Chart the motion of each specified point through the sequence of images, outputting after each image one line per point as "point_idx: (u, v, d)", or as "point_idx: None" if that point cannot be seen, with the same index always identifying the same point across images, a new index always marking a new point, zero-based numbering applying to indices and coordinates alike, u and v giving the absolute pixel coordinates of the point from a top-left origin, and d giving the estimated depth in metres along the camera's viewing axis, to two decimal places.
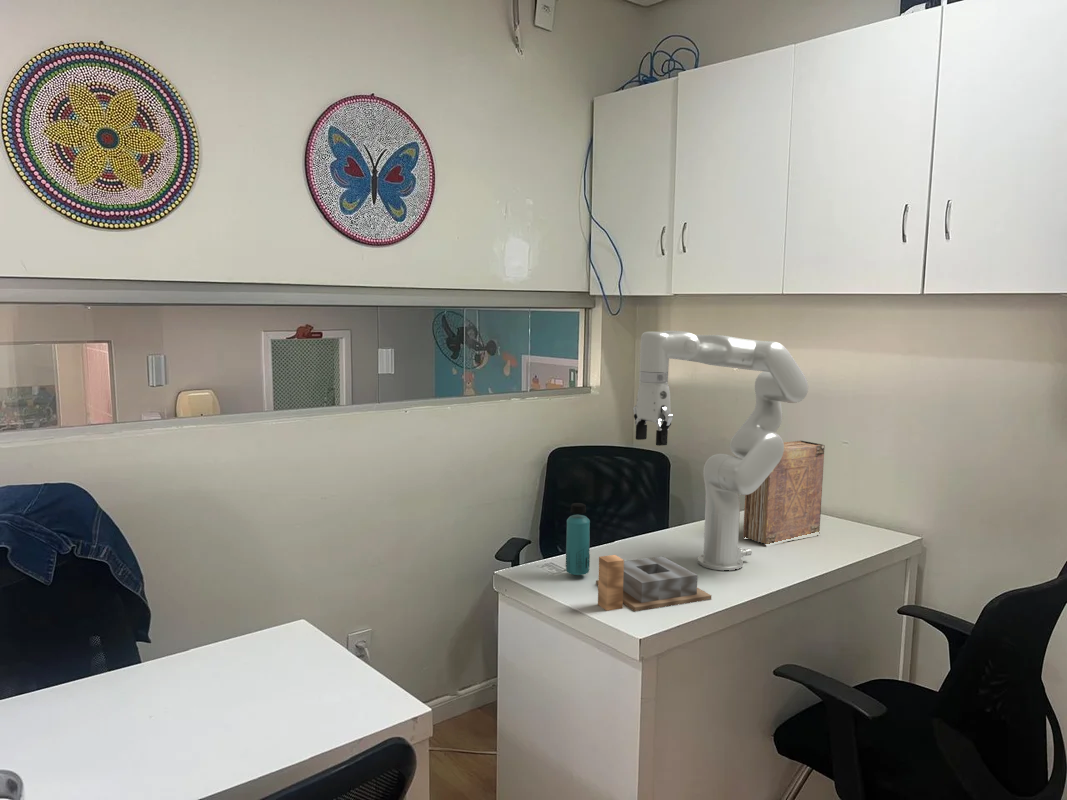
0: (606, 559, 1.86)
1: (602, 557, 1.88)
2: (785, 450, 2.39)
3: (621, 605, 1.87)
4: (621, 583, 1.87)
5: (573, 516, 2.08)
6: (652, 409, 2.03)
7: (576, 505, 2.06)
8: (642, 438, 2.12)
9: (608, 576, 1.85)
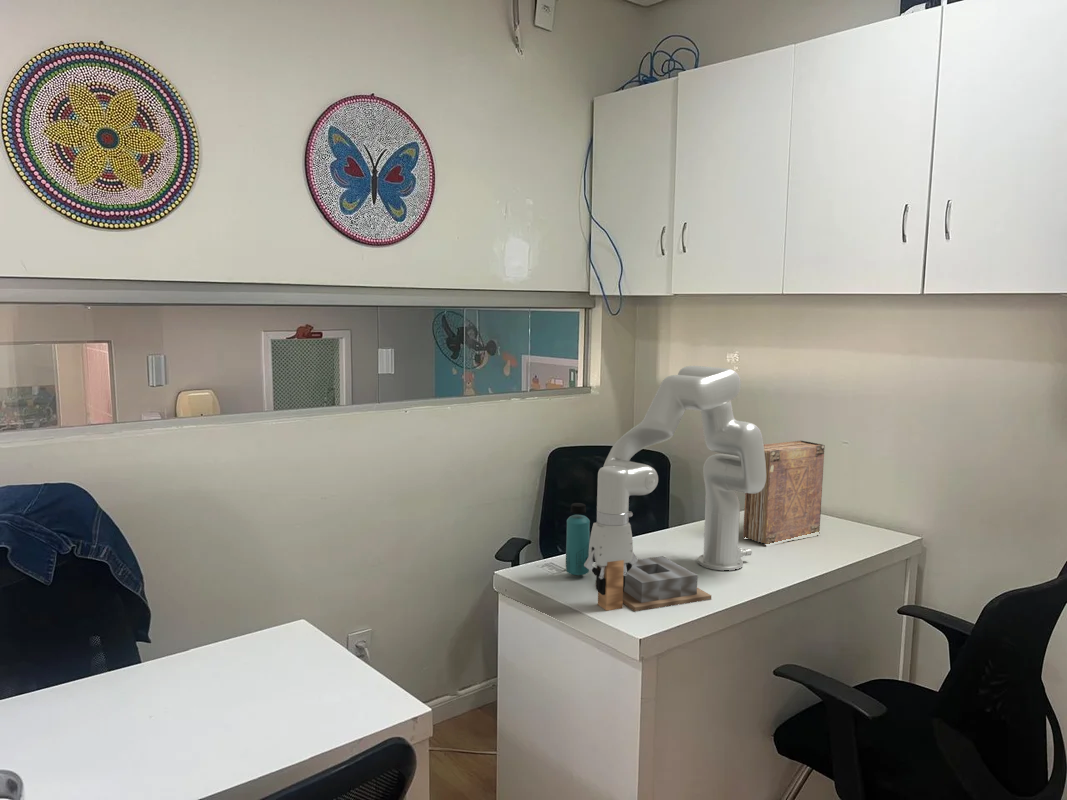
0: None
1: None
2: (785, 450, 2.39)
3: (621, 605, 1.87)
4: (621, 583, 1.87)
5: (573, 516, 2.08)
6: (628, 550, 1.86)
7: (576, 505, 2.06)
8: None
9: (608, 576, 1.85)
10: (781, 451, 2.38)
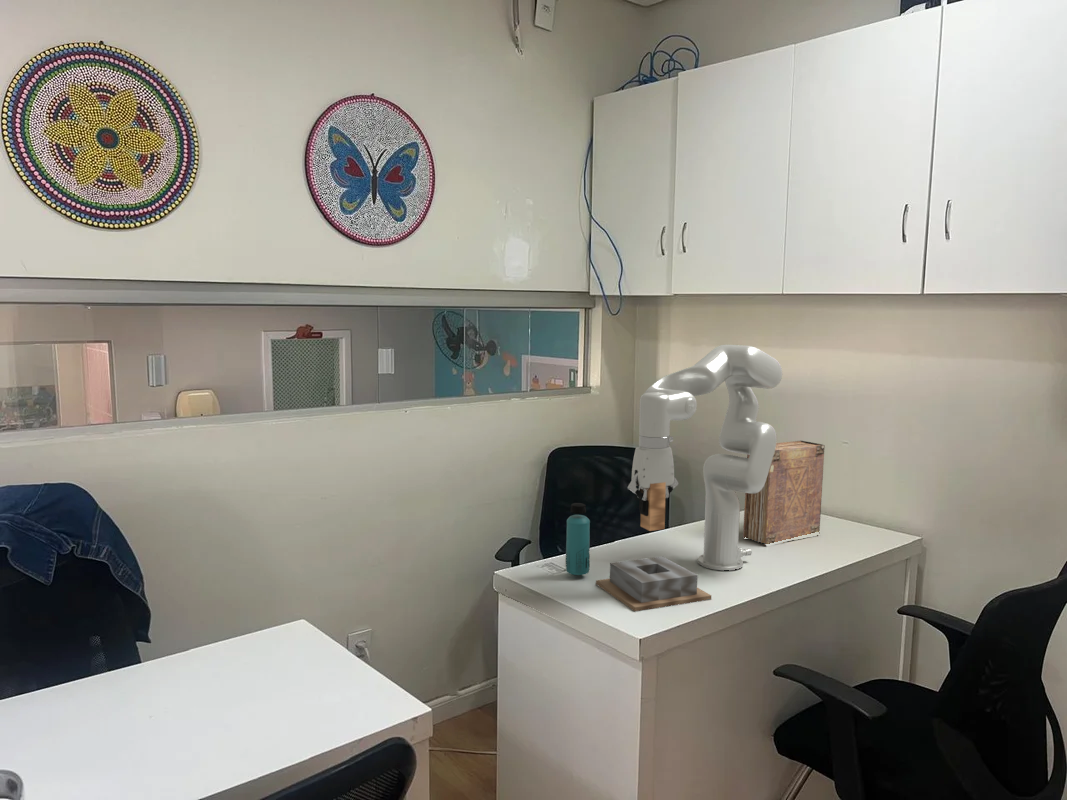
0: None
1: None
2: (785, 450, 2.39)
3: (663, 526, 1.95)
4: (663, 504, 1.95)
5: (573, 516, 2.08)
6: (669, 473, 1.94)
7: (576, 505, 2.06)
8: None
9: (651, 498, 1.93)
10: (781, 451, 2.38)
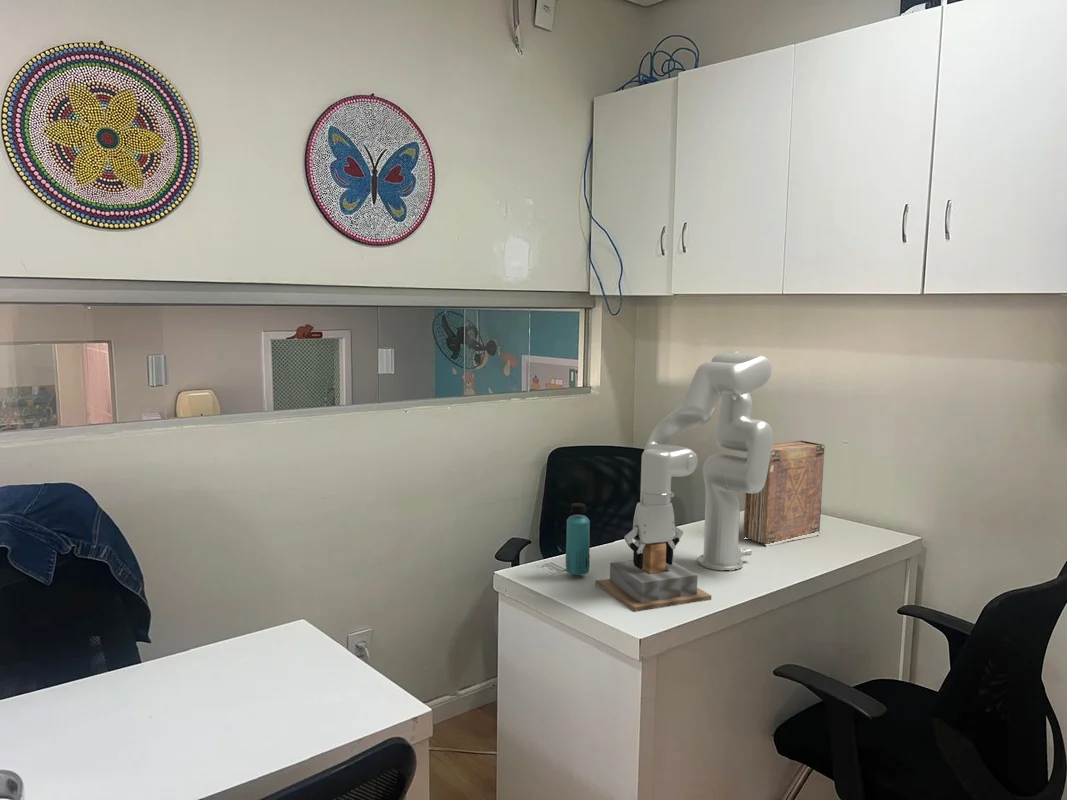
0: None
1: None
2: (785, 450, 2.39)
3: None
4: (663, 565, 1.97)
5: (573, 516, 2.08)
6: (670, 529, 1.97)
7: (576, 505, 2.06)
8: None
9: (651, 559, 1.95)
10: (781, 451, 2.38)
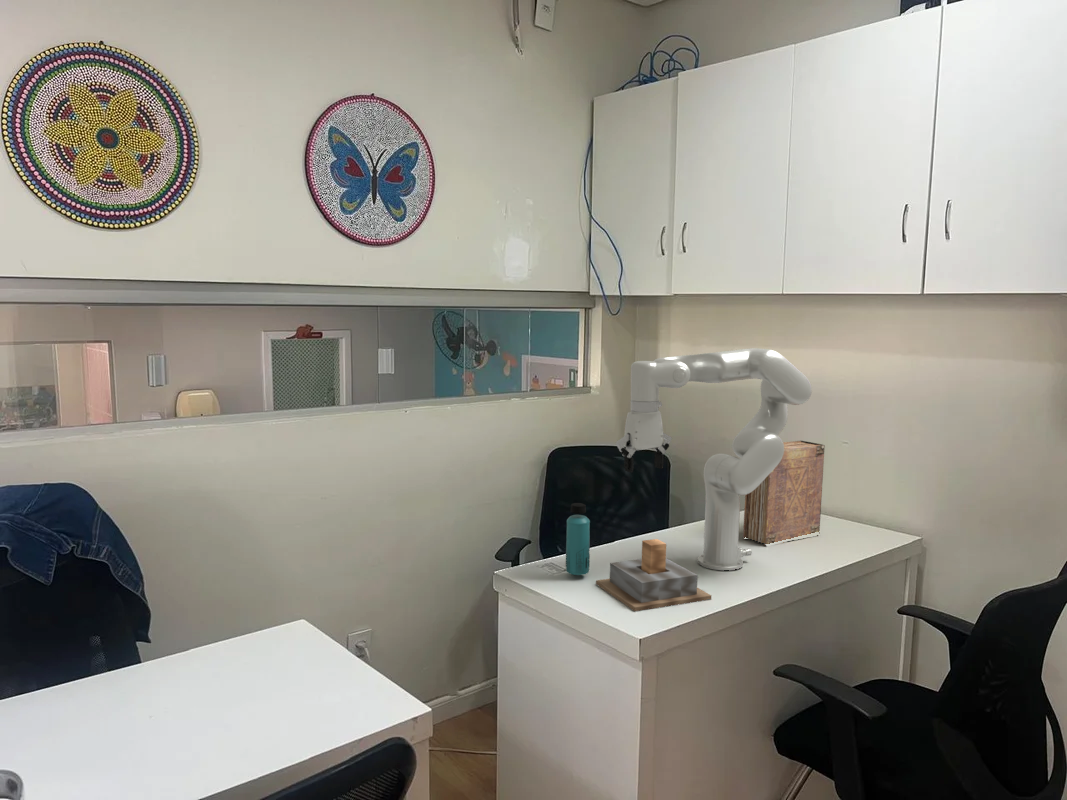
0: (649, 543, 1.97)
1: (645, 541, 1.98)
2: (785, 450, 2.39)
3: None
4: (663, 565, 1.97)
5: (573, 516, 2.08)
6: (659, 435, 2.09)
7: (576, 505, 2.06)
8: None
9: (651, 559, 1.95)
10: None
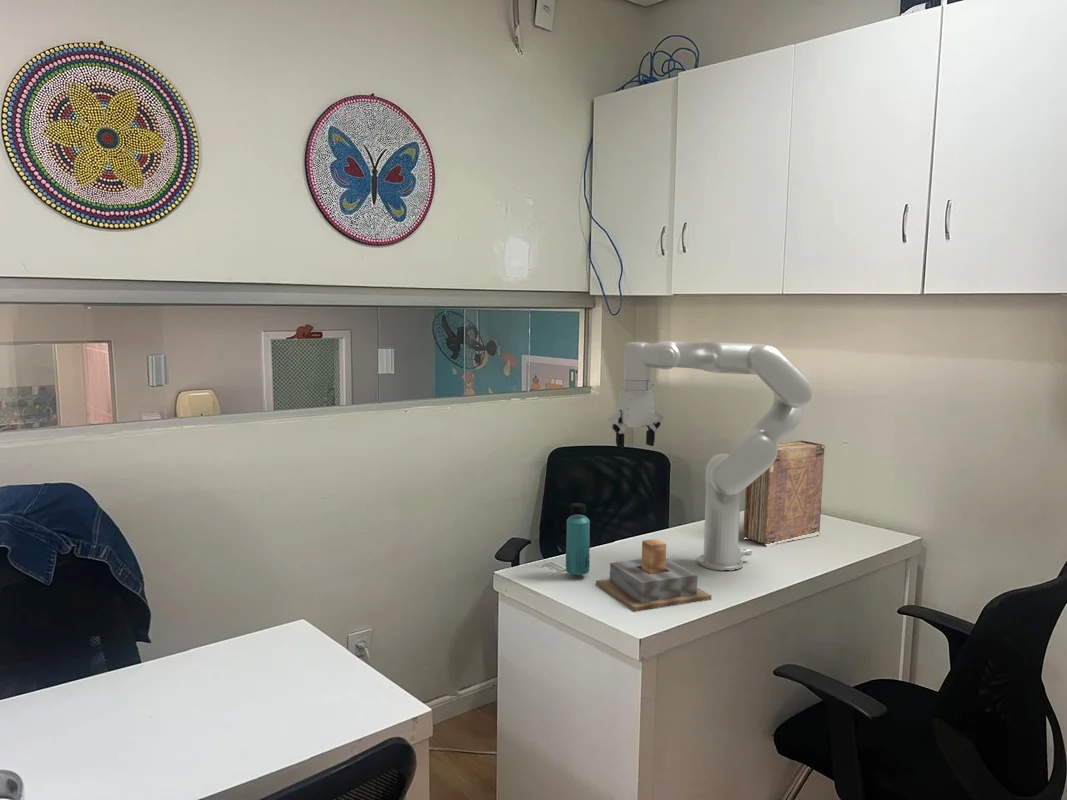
0: (649, 543, 1.97)
1: (645, 541, 1.98)
2: (785, 450, 2.39)
3: None
4: (663, 565, 1.97)
5: (573, 516, 2.08)
6: (650, 414, 2.19)
7: (576, 505, 2.06)
8: None
9: (651, 559, 1.95)
10: (781, 451, 2.38)
